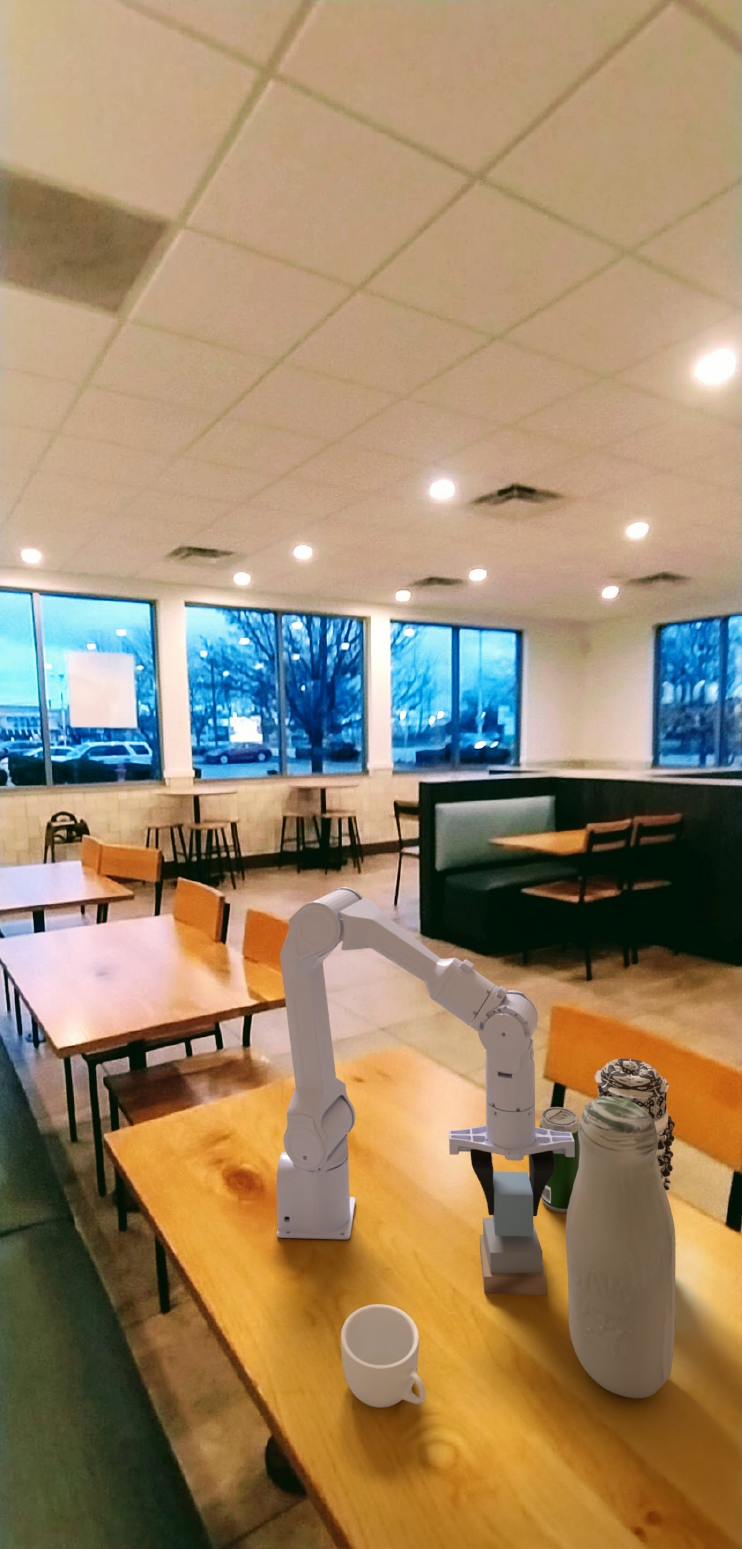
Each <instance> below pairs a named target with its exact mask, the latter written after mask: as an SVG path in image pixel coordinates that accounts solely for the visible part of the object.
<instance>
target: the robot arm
mask: <svg viewBox="0 0 742 1549" xmlns="http://www.w3.org/2000/svg"><path fill="white" fill-rule="evenodd" d="M288 928H289V929H288V931H287V933H286V937H285V939H284V943H283V945H282V948H281V950H280V953H279V954H280V968H281V976H282V985H283V992H284V1000H285V1001H284V1002H285V1009H286V1017H287V1025H288V1026H287V1027H288V1033H289V1042H290V1051H291V1059H292V1067H293V1075H294V1083H295V1084H294V1085H295V1087H294V1090H293V1093H292V1096H291V1099H290V1101H289V1105H288V1107H287V1111H286V1120H287V1121H286V1122H287V1123H286V1124H287V1125H286V1129H285V1132H284V1133H283V1147H284V1150H285V1151H281V1153H280V1156H279V1159H278V1163H277V1170H276V1210H277V1211H276V1212H277V1217H276V1218H277V1231H276V1236H277V1237H278V1238H282V1239H283V1238H286V1239H314V1240H315V1239H316V1240H318V1239H319V1240H321V1239H322V1240H349V1239H350V1238H351V1235H352V1228H353V1227H352V1225H353V1220H354V1214H355V1207H356V1198H355V1197H354V1196H350V1171H349V1170H350V1168H349V1166H350V1165H349V1164H350V1163H349V1162H350V1161H349V1145H348V1143H349V1142H348V1134H349V1133H350V1132H351V1131H352V1130H353V1128H354V1126H355V1124H356V1111H355V1107H354V1105H353V1104H352V1102H351V1099H349V1096H348V1092H347V1089H346V1088H347V1086H346V1085H347V1084H346V1083H345V1082H343V1080H341V1079H339V1078H337V1073H336V1064H335V1056H334V1049H333V1048H334V1047H333V1042H332V1041H333V1040H332V1032H331V1031H332V1030H331V1023H330V1014H329V1005H328V998H327V996H328V995H327V989H326V981H325V980H326V979H325V971H324V961H325V960H326V959H327V958H328V957H329V955H330V954H331V953H332V952H333V951H334V950H335V949H336V948H337V947H338V945H339V944H340V943H341V942H342V943H341V949H340V950H341V951H351V950H363V949H371V950H373V951H375V952H377V953H378V954H380V955H381V956H383V957H384V958H386V959H387V960H388V961H391V962H393V963H394V964H396V965H397V966H399V967H400V968H402V969H403V970H405V971H406V972H408V973H410V974H412V975H413V976H415V977H416V978H418V979H419V980H421V981H423V983H425V986H426V988H427V993H428V996H429V998H430V999H431V1000H432V1001H434V1002H435V1003H437V1004H438V1005H439V1006H441V1007H442V1008H444V1009H445V1010H446V1011H448V1012H449V1013H451V1014H452V1015H453V1016H454V1017H456V1018H457V1019H459V1020H460V1021H461V1022H462V1023H465V1024H466V1025H467V1026H468V1027H470V1028H471V1029H473V1030H474V1031H477V1032H478V1038H479V1040H480V1043H481V1045H482V1046H483V1048H484V1049H485V1054H486V1055H485V1061H484V1062H485V1115H486V1116H485V1122H486V1123H485V1125H480V1126H474V1127H469V1128H463V1129H449V1130H448V1148H449V1155H451V1156H453V1155H457V1156H458V1155H459V1154H460V1152H465V1153H466V1152H469V1153H470V1160H471V1167H472V1169H473V1172H474V1174H475V1175H476V1177H477V1179H478V1182H479V1183H480V1185H481V1188H482V1191H483V1194H484V1197H485V1200H486V1205H487V1212H488V1213H487V1214H488V1215H489V1216H492V1215H494V1197H493V1171H494V1164H493V1155H492V1154H496V1155H499V1156H500V1155H501V1156H504V1158H505V1160H507V1161H510V1162H511V1161H513V1162H514V1161H515V1162H517V1161H523V1160H524V1156H528V1169H529V1170H528V1175H529V1179H530V1184H531V1188H532V1192H533V1217H537V1216H538V1211H539V1206H540V1201H541V1200H542V1198H541V1196H542V1193H543V1191H544V1188H545V1186H546V1184H547V1182H548V1181H549V1179H550V1178H551V1176H552V1175H553V1173H554V1169H555V1162H554V1159H553V1153H558V1154H565V1156H566V1157H575V1141H574V1138H573V1136H572V1133H571V1132H560V1131H554V1130H549V1129H544V1128H540V1126H539V1127H538V1126H536V1085H535V1084H536V1065H535V1060H534V1057H535V1050H534V1039H532V1038H533V1035H534V1033H535V1031H536V1029H537V1026H538V1020H539V1016H538V1015H539V1014H538V1011H537V1007H536V1006H535V1005H534V1003H533V1001H531V999H530V998H528V997H527V996H526V994H524V992H521V991H519V990H513V989H512V990H511V989H509V990H508V988H506V987H505V986H503V985H500V986H498V985H496V983H493V982H492V981H490V980H489V979H488V978H486V977H485V976H484V975H482V974H480V973H479V972H478V971H476V970H475V969H474V967H475V964H474V963H472V962H471V961H470V960H468V959H464V960H463V961H462V960H461V959H459V958H457V957H450V958H441V957H439V955H437V954H435V953H434V952H433V951H431V950H430V949H429V948H428V947H427V946H425V945H424V944H423V943H421V942H420V941H419V940H418V939H416V938H415V937H414V936H413V935H412V934H410V933H408V932H407V931H406V930H405V929H404V928H402V927H401V926H400V925H398V924H397V923H396V922H394V921H393V920H392V919H391V918H389V917H388V916H387V915H386V914H384V912H382V911H381V909H380V908H379V907H378V906H377V905H376V903H375V901H373V900H371V899H369V898H367V897H363V896H362V894H361V893H360V892H358V890H355V889H353V888H350V887H346V886H345V887H344V886H342V887H338V888H335V889H334V890H333V891H330V892H329V893H328V894H326V895H324V896H321V897H319V898H318V899H315V900H314V901H308V902H307V903H305V904H304V905H302V906H301V907H300V908H299V909H298V910H297V911H295V913H294V914H292V915H291V917H289V918H288Z"/></svg>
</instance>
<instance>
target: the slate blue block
mask: <svg viewBox="0 0 742 1549" xmlns="http://www.w3.org/2000/svg"><path fill="white" fill-rule="evenodd" d="M493 1197H494V1215H491V1216H492V1218H493V1223H494V1230H495V1235H496V1236H530V1237H534V1233H533V1223H534V1216H533V1192H532V1188H531V1184H530V1179H529V1171H501V1170H500V1171H499V1170H498V1171H497V1170H493Z"/></svg>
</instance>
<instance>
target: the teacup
mask: <svg viewBox="0 0 742 1549" xmlns="http://www.w3.org/2000/svg"><path fill="white" fill-rule="evenodd" d="M419 1336H420V1334H419V1330H418V1327H417V1325H416V1322H414V1320H413V1318H412V1317H411V1316H410V1315H409V1314H408V1313H406V1312H405V1311H403V1310H402V1309H400V1308H399V1307H395V1306H393V1305H388V1304H381V1303H375V1304H369V1305H365V1306H363V1307H360V1308H358V1309H356V1310H355V1311H353V1312H352V1313H351V1314H350V1315H348V1317H347V1318H346V1320H345V1321H344V1322H343V1326H342V1327H341V1332H340V1350H341V1351H340V1352H341V1361H342V1362H341V1363H342V1367H343V1375H344V1378H345V1380H346V1381H345V1382H346V1383H347V1386H348V1387H349V1390H350V1391H351V1392H352V1393H353V1395H354V1396H355V1397H356V1398H357V1399H358V1400H359V1401H361V1402H362V1403H364V1404H366V1405H367V1406H370V1407H372V1408H373V1407H374V1408H381V1409H382V1408H389V1407H391V1406H394V1405H396V1404H398V1403H399V1402H401V1401H402V1400H403V1401H406V1402H409V1403H411V1404H415V1405H421V1404H422V1403H423V1402H424V1401H425V1400H426V1395H427V1394H426V1387H425V1385H424V1382H423V1380H422V1379H421V1377H420V1375H419V1374H417V1373H418V1362H419V1351H420V1350H419V1349H420V1348H419V1346H420V1337H419ZM414 1384H415V1385H416V1387H417V1388H418V1392H419V1396H417V1394H415V1393H414V1392H413V1390H412V1388H413V1386H414Z"/></svg>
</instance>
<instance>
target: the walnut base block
mask: <svg viewBox="0 0 742 1549" xmlns="http://www.w3.org/2000/svg"><path fill="white" fill-rule="evenodd" d="M479 1254H480V1255H479V1256H480V1263H481V1265H480V1266H481V1272H482V1282H483V1283H482V1285H483V1292H484V1294H493V1295H494V1294H496V1295H497V1294H498V1295H499V1294H501V1295H520V1296H521V1295H522V1296H523V1295H525V1296H528V1295H529V1296H547V1276H546V1272H545V1267H544V1266H543V1273H490V1268H489V1263H488V1258H487V1253H486V1248H485V1243H484V1238H483V1234H479Z"/></svg>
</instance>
